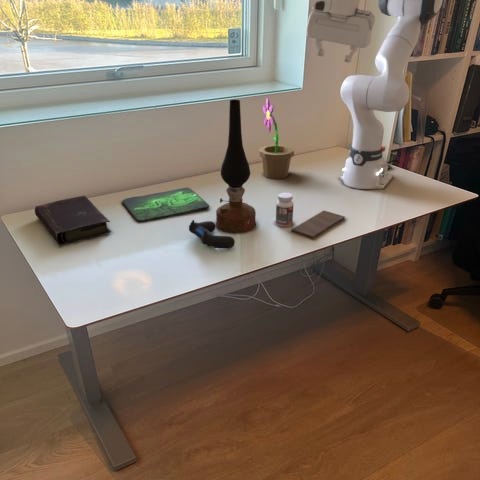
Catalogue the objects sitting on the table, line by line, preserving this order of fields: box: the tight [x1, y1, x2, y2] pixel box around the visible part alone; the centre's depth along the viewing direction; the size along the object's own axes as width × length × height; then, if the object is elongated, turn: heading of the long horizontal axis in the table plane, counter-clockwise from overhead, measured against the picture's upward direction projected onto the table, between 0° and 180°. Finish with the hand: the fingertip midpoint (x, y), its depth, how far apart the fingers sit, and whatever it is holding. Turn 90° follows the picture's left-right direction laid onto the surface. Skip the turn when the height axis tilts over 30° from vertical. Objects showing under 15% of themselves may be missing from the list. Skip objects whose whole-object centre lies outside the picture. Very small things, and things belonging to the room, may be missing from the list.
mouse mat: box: [121, 187, 210, 223], centre depth 184 cm, size 27×22×1 cm
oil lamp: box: [215, 99, 257, 234], centre depth 161 cm, size 14×15×40 cm
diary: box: [34, 195, 112, 247], centre depth 168 cm, size 19×25×5 cm
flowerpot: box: [258, 97, 295, 180], centre depth 202 cm, size 14×14×30 cm
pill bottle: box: [275, 192, 294, 227], centre depth 168 cm, size 6×6×10 cm
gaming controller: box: [188, 219, 236, 250], centre depth 158 cm, size 17×6×10 cm
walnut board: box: [291, 210, 346, 240], centre depth 169 cm, size 20×8×1 cm, turn 141°
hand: (333, 59), depth 155 cm, fingers open, 8 cm apart
